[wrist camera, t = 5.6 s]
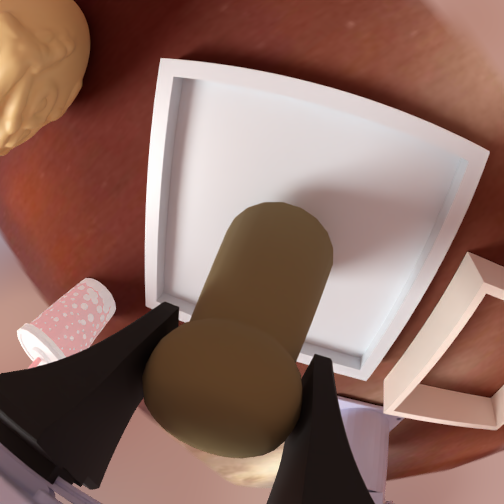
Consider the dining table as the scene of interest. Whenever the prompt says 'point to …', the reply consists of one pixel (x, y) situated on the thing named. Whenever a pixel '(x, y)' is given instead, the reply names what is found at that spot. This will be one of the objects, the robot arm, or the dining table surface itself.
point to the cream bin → (434, 346)
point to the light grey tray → (304, 194)
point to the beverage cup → (68, 323)
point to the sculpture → (39, 64)
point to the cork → (244, 337)
